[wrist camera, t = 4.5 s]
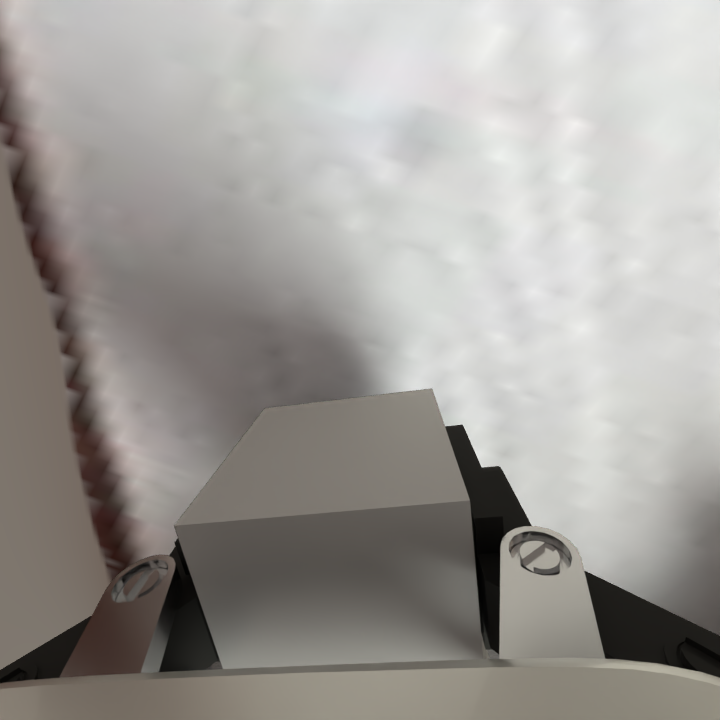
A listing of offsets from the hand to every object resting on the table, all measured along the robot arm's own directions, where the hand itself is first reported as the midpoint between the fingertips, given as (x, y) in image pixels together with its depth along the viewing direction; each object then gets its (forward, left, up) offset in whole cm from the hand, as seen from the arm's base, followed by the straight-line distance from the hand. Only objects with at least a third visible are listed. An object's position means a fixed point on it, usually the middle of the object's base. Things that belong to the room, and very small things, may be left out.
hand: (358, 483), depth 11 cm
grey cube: (0, 0, -1) cm, 1 cm away
